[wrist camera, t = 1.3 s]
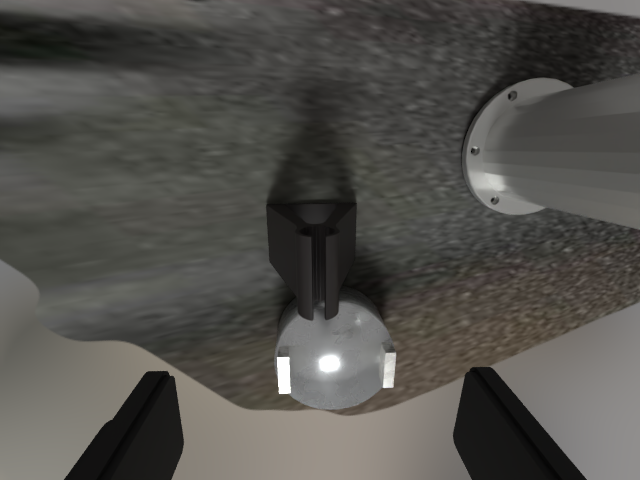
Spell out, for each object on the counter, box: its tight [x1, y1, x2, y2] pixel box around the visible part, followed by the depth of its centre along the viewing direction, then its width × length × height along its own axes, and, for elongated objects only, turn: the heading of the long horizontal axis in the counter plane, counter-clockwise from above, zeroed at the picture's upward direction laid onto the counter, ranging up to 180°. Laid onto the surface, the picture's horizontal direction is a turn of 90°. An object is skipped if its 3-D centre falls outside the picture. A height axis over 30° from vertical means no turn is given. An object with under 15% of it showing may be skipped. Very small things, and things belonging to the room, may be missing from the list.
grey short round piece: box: [274, 286, 396, 409], centre depth 31 cm, size 12×12×7 cm
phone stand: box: [266, 203, 357, 321], centre depth 25 cm, size 9×6×12 cm, turn 90°
